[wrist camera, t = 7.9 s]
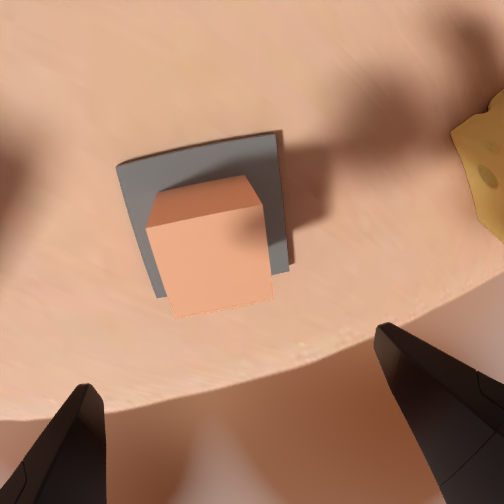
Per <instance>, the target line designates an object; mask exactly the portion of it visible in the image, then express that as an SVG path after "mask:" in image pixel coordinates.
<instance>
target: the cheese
mask: <svg viewBox="0 0 504 504" xmlns="http://www.w3.org/2000/svg"><path fill="white" fill-rule="evenodd" d="M450 134H451V137H452V140H453V143H454V145H455V147H456V149H457V151H458V153H459V155H460V158H461V160H462V163H463V166H464V168H465V171H466V175H467V179H468V182H469V185H470V188H471V192H472V196H473V200H474V204H475V208H476V213H477V217H478V221H479V222H481V223H482V224H483V225H484V226H485V227H486V228H487V229H488V230H489V231H490V232H491V233H492V234H493V235H494V236H495V237H497V238H498V239H499V240H500V241H501V242H502V243H503V244H504V88H503V89H502V90H501V91H500V92H499V93H498V94H497V95H496V96H495V97H494V98H493V99H492V100H491V101H490V103H489V106H488V112H486V113H483V114H474V115H473V116H471V117H470V118H468V119H467V120H466V121H465V122H463V123H462V124H460V125H459V126H457V127H456V128H455V129H453V130H452V131H451V132H450Z"/></svg>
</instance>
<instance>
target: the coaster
mask: <svg viewBox="0 0 504 504" xmlns="http://www.w3.org/2000/svg"><path fill="white" fill-rule="evenodd" d="M116 171H117V175H118V178H119V182H120V186H121V189H122V193H123V197H124V200H125V204H126V207H127V210H128V214H129V217H130V221H131V224H132V227H133V230H134V233H135V237H136V240H137V243H138V246H139V249H140V252H141V255H142V258H143V261H144V264H145V267H146V270H147V273H148V275H149V278H150V281H151V284H152V287H153V289H154V292H155V295H156V297H157V298H161V297H166V296H167V294H166V291H165V288H164V285H163V282H162V279H161V276H160V273H159V270H158V267H157V264H156V261H155V258H154V255H153V252H152V248H151V245H150V242H149V239H148V235H147V232H146V225H147V222H148V219H149V216H150V213H151V210H152V207H153V204H154V201H155V198H156V195H157V192H161V191H166V190H170V189H175V188H179V187H184V186H189V185H193V184H198V183H203V182H208V181H213V180H218V179H224V178H229V177H234V176H240V175H245V176H246V178H247V180H248V181H249V183H250V185H251V186H252V188H253V189H254V191H255V193H256V194H257V196H258V198H259V199H260V201H261V203H262V204H263V212H264V220H265V228H266V236H267V244H268V252H269V260H270V268H271V275H274V274H279V273H283V272H288V271H289V262H288V251H287V240H286V229H285V219H284V209H283V200H282V190H281V181H280V172H279V163H278V154H277V146H276V137H275V134H273V133H270V134H263V135H257V136H250V137H244V138H238V139H232V140H226V141H221V142H215V143H210V144H205V145H200V146H195V147H190V148H185V149H181V150H176V151H172V152H167V153H163V154H159V155H154V156H150V157H146V158H142V159H138V160H134V161H131V162H127V163H123V164H119V165H117V166H116Z"/></svg>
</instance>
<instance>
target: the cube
mask: <svg viewBox="0 0 504 504" xmlns="http://www.w3.org/2000/svg"><path fill="white" fill-rule="evenodd" d="M146 232H147V235H148V239H149V242H150V245H151V248H152V252H153V255H154V258H155V261H156V264H157V267H158V270H159V273H160V276H161V279H162V282H163V285H164V288H165V291H166V294H167V297H168V300H169V303H170V306H171V308H172V311H173V314H174V317H175V319H178V318H184V317H189V316H195V315H200V314H205V313H210V312H215V311H220V310H225V309H230V308H235V307H240V306H245V305H249V304H254V303H259V302H263V301H268V300H272V299H274V294H273V285H272V277H271V268H270V260H269V252H268V244H267V236H266V228H265V220H264V212H263V204H262V203H261V201H260V199H259V198H258V196H257V194H256V193H255V191H254V189H253V188H252V186H251V185H250V183H249V181H248V180H247V178H246V176H245V175H240V176H234V177H229V178H224V179H218V180H213V181H208V182H203V183H198V184H193V185H189V186H184V187H179V188H175V189H170V190H166V191H161V192H157V195H156V198H155V201H154V204H153V207H152V210H151V213H150V216H149V219H148V222H147V225H146Z"/></svg>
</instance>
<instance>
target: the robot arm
mask: <svg viewBox="0 0 504 504" xmlns="http://www.w3.org/2000/svg"><path fill="white" fill-rule="evenodd" d="M374 350H375V352H376V355H377V357H378V360H379V362H380V365H381V367H382V370H383V372H384V375H385V377H386V380H387V383H388V385H389V387H390V390H391V392H392V394H393V396H394V397H395V399H396V401H397V403H398V405H399V407H400V409H401V411H402V413H403V415H404V416H405V418H406V420H407V422H408V424H409V426H410V428H411V430H412V432H413V434H414V436H415V438H416V440H417V442H418V444H419V446H420V448H421V450H422V452H423V454H424V456H425V458H426V460H427V463H428V465H429V466H430V469H431V471H432V473H433V475H434V477H435V479H436V482H437V484H438V486H440V487H439V488H440V490H441V492H442V495H443V497H444V499H445V501H446V504H504V384H502V383H500V382H498V381H496V380H494V379H492V378H490V377H488V376H486V375H485V374H483V373H481V372H479V371H476V370H475V369H474V368H472V367H470V366H468V365H466V364H464V363H463V362H461V361H459V360H457V359H456V358H454V357H452V356H450V355H448V354H446V353H445V352H443V351H441V350H439V349H438V348H436V347H434V346H432V345H430V344H428V343H427V342H425V341H423V340H421V339H419V338H418V337H416V336H414V335H412V334H410V333H408V332H407V331H405V330H403V329H401V328H399V327H398V326H396V325H394V324H392V323H390V322H387V323H383V324H380V325H378V326H377V328H376V332H375V338H374ZM0 504H107V499H106V434H105V419H104V403H103V400H102V398H101V396H100V395H99V394H98V393H97V391H96V390H95V388H94V387H93V386H92V385H91V384H89V383H86V384H79V385H78V386H77V387H76V388H75V389H74V391H73V392H72V393H71V395H70V396H69V397H68V399H67V400H66V401H65V402H64V404H63V405H62V406H61V408H60V409H59V410H58V412H57V413H56V414H55V416H54V417H53V418H52V420H51V421H50V422H49V424H48V425H47V427H46V428H45V429H44V431H43V432H42V433H41V435H40V436H39V437H38V439H37V440H36V442H35V443H34V444H33V446H32V447H31V449H30V450H29V451H28V453H27V454H26V456H25V457H24V459H23V461H21V463H20V464H19V466H18V467H17V468H16V470H15V471H14V472H13V474H12V475H11V477H10V478H9V479H8V481H7V482H6V483H5V484H4V485H3V487H2V488H1V489H0Z"/></svg>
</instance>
